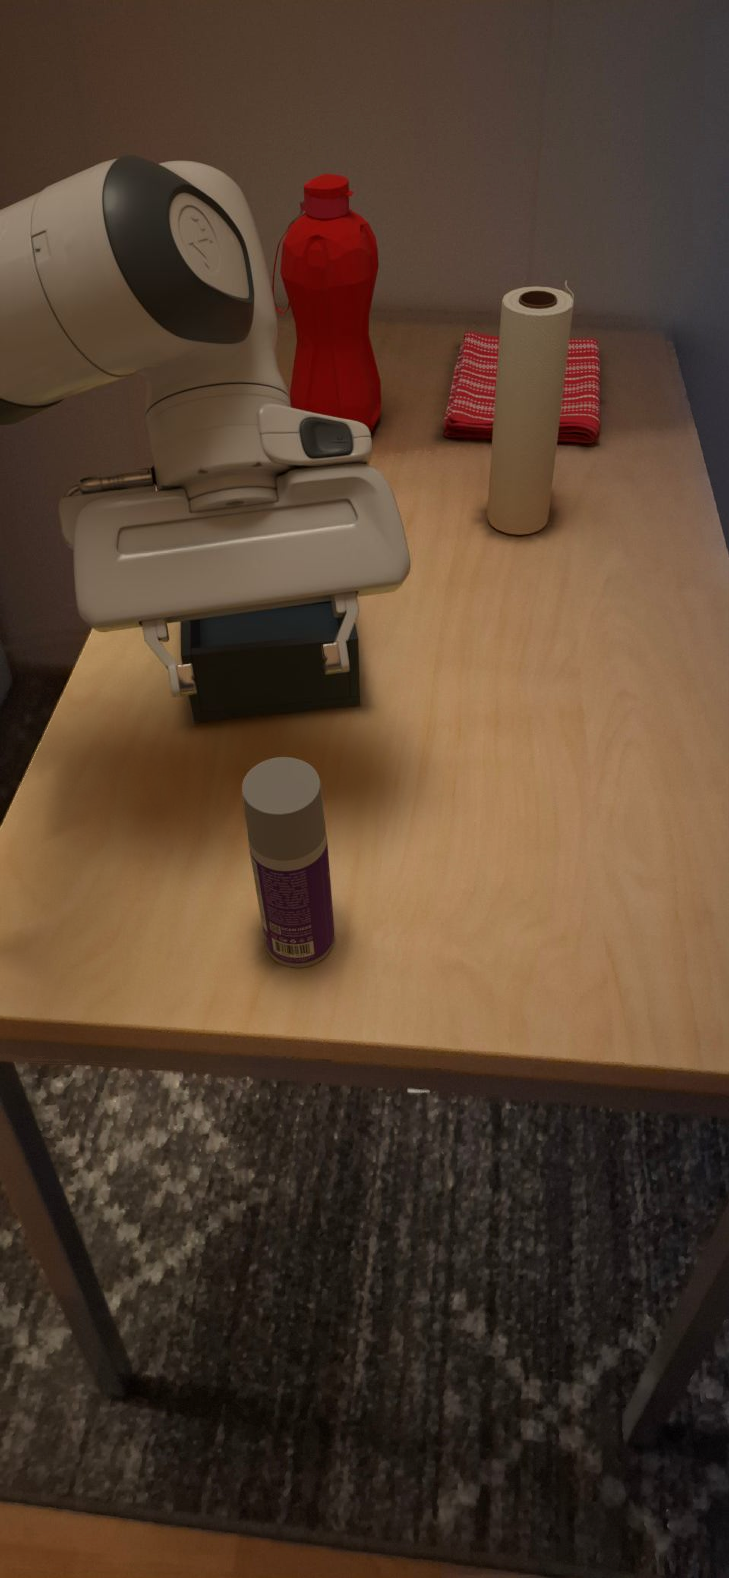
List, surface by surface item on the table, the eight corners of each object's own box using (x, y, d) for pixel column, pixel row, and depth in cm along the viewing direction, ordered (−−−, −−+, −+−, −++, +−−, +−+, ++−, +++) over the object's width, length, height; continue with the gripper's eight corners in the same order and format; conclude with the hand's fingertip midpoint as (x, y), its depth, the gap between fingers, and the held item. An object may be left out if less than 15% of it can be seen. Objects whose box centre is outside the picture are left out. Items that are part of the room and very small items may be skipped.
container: (349, 936, 70) (339, 782, 59) (299, 980, 67) (279, 829, 56) (300, 898, 72) (282, 743, 61) (250, 940, 70) (222, 786, 59)
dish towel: (440, 441, 114) (441, 418, 112) (459, 346, 130) (460, 325, 128) (599, 450, 112) (603, 426, 110) (598, 352, 128) (601, 330, 126)
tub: (193, 722, 84) (180, 655, 79) (192, 619, 93) (180, 553, 88) (360, 705, 85) (358, 638, 80) (342, 605, 94) (339, 539, 89)
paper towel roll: (501, 542, 100) (520, 317, 85) (477, 510, 104) (490, 290, 89) (569, 527, 102) (600, 303, 86) (542, 496, 106) (567, 277, 90)
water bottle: (296, 400, 121) (278, 159, 103) (387, 411, 119) (385, 165, 101) (270, 439, 115) (245, 190, 97) (365, 451, 113) (359, 197, 95)
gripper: (43, 465, 59) (83, 706, 60) (395, 422, 61) (430, 655, 62) (61, 493, 65) (98, 711, 66) (380, 454, 68) (413, 665, 68)
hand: (261, 684), depth 64 cm, fingers open, 8 cm apart
